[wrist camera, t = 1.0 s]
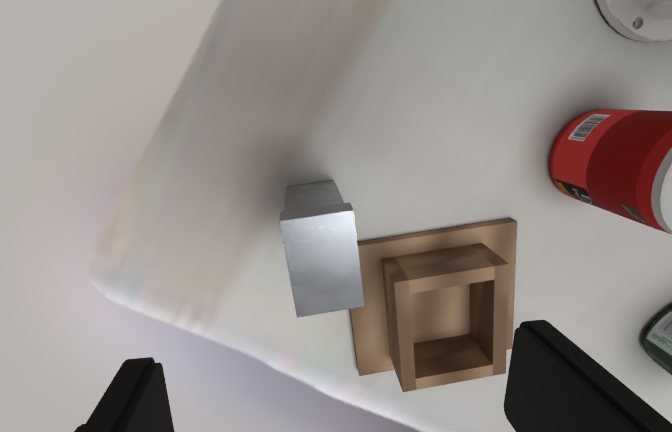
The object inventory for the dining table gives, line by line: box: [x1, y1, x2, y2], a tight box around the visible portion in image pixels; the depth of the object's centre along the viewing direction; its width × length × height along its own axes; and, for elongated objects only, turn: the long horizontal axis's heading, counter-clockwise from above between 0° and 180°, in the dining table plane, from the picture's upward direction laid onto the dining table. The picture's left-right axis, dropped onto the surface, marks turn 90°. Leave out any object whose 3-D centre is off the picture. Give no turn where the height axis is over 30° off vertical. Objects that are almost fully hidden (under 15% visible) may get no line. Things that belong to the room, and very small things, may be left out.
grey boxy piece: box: [280, 180, 364, 317], centre depth 26 cm, size 4×6×12 cm, turn 7°
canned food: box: [550, 109, 672, 234], centre depth 28 cm, size 8×8×11 cm
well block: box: [350, 218, 517, 392], centre depth 34 cm, size 16×14×6 cm
